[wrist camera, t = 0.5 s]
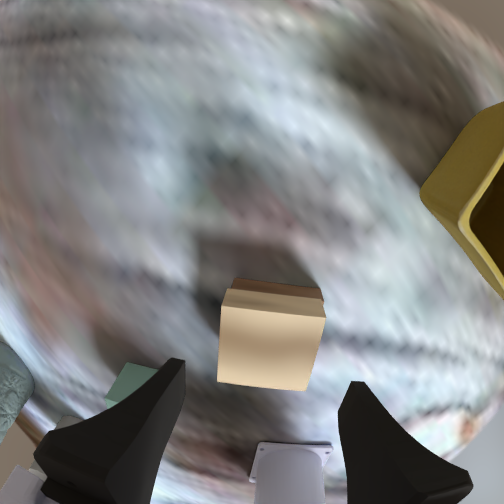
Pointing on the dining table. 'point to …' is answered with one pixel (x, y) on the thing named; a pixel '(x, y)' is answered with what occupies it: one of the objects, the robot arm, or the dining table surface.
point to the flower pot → (474, 193)
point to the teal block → (128, 382)
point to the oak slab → (268, 339)
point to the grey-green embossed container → (12, 387)
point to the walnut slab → (277, 288)
